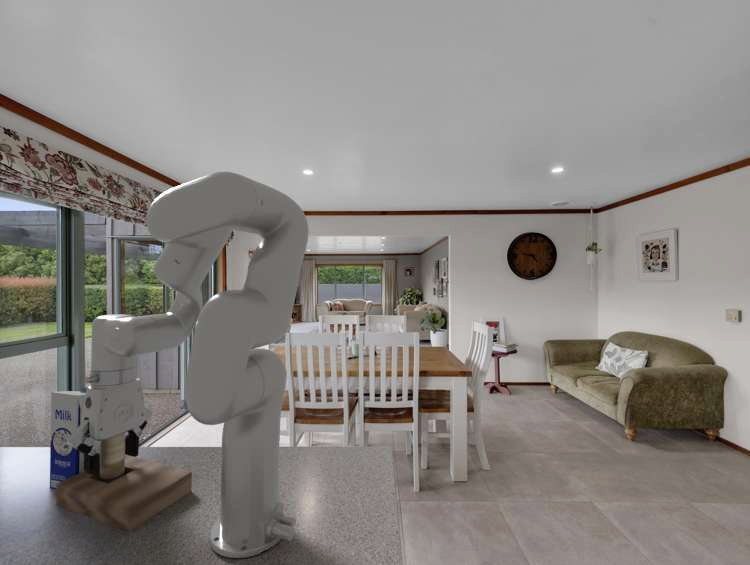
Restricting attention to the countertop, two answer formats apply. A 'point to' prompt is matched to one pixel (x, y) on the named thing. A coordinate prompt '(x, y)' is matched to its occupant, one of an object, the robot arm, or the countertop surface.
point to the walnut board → (125, 493)
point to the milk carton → (66, 435)
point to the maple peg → (112, 458)
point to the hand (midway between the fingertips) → (112, 463)
